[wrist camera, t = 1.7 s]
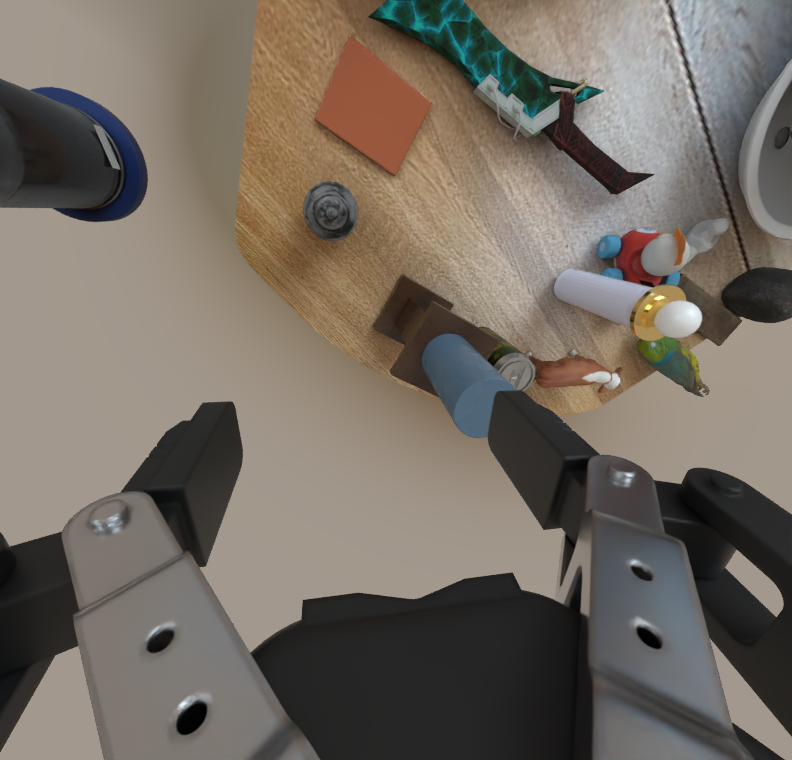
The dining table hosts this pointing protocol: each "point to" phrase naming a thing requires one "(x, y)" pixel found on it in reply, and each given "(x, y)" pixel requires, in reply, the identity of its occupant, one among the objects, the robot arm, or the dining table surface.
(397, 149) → the tile
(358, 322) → the dining table surface
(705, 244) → the bone
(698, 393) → the bird model
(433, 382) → the blue cylinder
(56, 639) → the robot arm
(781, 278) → the stone
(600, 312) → the perfume bottle
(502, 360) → the beer can
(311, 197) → the chess piece
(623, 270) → the toy car
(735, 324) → the wooden plank
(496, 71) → the knife
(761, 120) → the soup bowl
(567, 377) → the bull figurine
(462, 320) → the stand
